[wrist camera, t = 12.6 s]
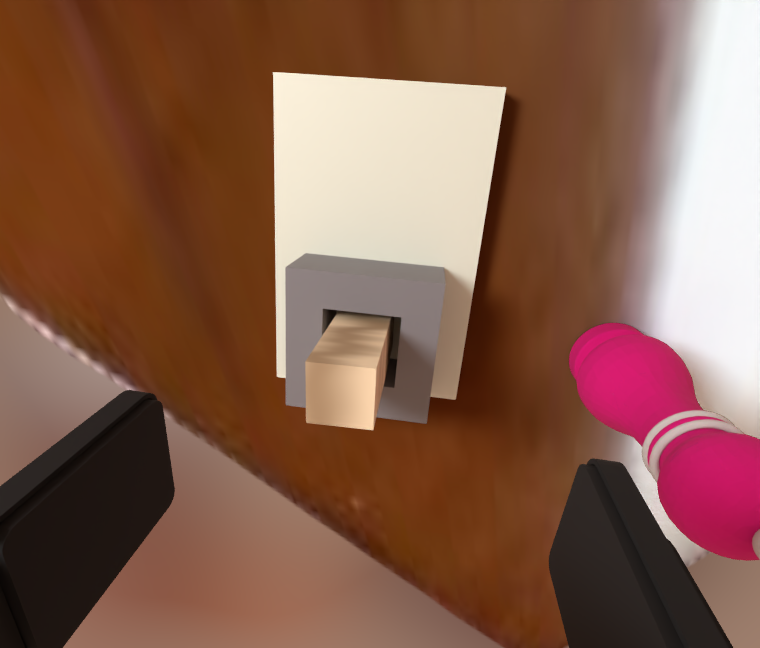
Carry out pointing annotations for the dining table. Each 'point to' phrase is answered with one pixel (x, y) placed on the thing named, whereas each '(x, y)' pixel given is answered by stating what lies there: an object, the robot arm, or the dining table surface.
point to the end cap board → (381, 221)
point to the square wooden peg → (349, 370)
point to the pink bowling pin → (674, 436)
